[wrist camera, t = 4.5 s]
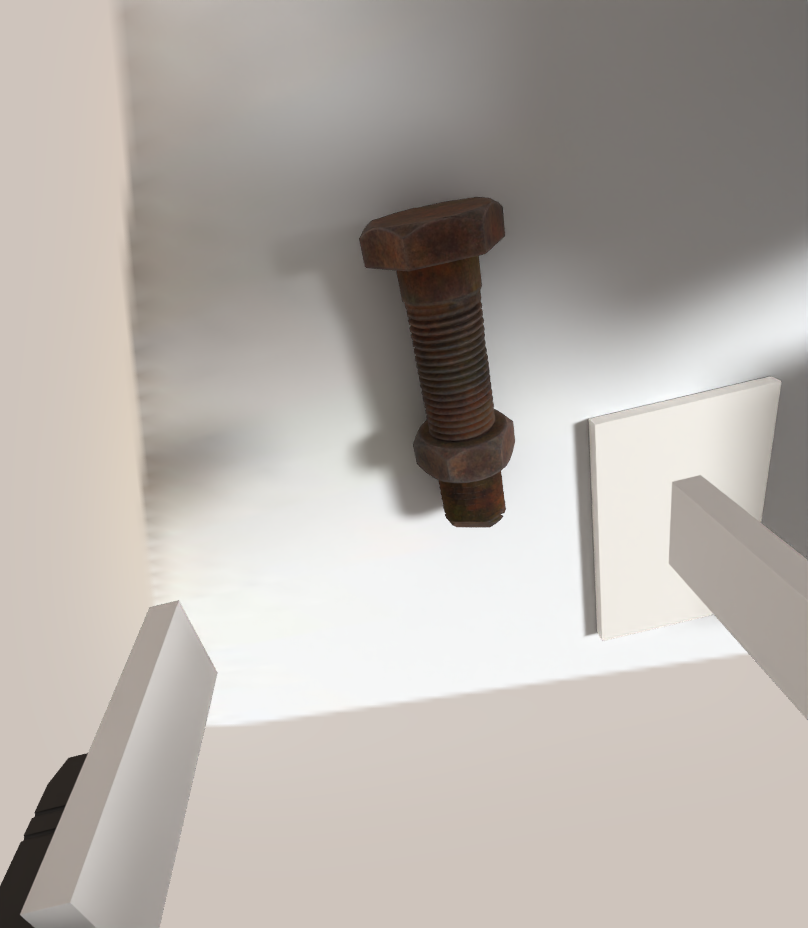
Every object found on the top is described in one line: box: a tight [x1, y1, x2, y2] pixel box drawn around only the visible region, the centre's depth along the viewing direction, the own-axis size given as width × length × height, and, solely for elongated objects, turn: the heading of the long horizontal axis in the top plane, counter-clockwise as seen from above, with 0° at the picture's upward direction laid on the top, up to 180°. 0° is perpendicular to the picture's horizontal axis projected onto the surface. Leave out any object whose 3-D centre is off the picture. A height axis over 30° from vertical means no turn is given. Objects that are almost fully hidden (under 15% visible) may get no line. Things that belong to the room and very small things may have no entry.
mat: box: [589, 376, 782, 641], centre depth 32 cm, size 16×10×1 cm, turn 12°
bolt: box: [359, 197, 515, 527], centre depth 25 cm, size 6×5×15 cm
